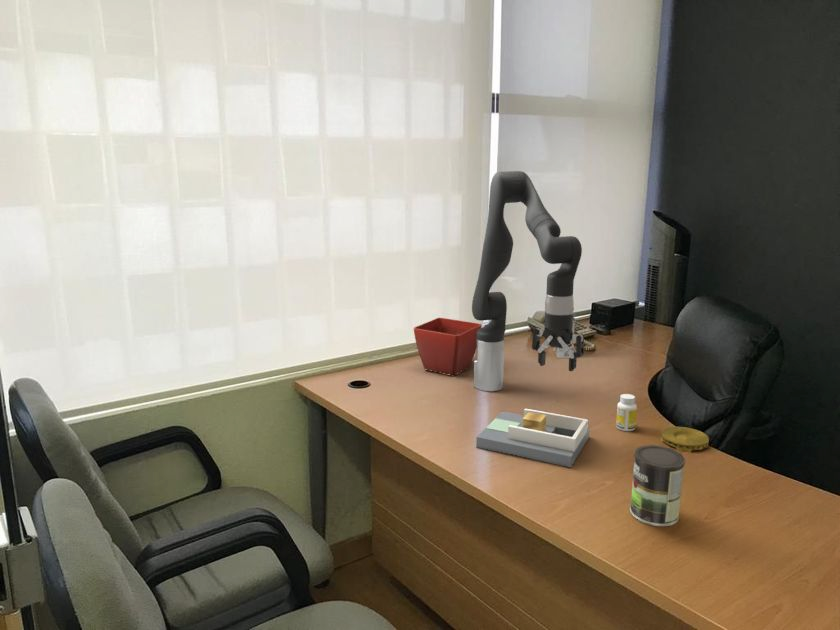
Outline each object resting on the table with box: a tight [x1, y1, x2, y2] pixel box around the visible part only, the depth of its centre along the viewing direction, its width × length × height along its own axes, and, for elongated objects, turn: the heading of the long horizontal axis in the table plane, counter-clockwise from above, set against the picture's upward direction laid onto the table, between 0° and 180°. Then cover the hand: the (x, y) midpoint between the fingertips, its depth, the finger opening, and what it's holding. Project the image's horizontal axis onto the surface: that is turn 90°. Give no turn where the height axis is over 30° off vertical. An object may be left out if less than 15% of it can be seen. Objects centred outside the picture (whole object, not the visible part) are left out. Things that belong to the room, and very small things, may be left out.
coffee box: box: [553, 316, 576, 359], centre depth 249 cm, size 9×6×16 cm
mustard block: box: [523, 412, 546, 432], centre depth 173 cm, size 5×5×4 cm
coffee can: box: [629, 444, 686, 528], centre depth 137 cm, size 10×10×14 cm
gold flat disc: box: [660, 426, 710, 453], centre depth 174 cm, size 12×12×2 cm
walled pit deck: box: [475, 408, 591, 468], centre depth 174 cm, size 26×20×6 cm
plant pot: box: [413, 317, 482, 376], centre depth 234 cm, size 19×19×17 cm
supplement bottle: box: [615, 393, 638, 432], centre depth 182 cm, size 5×5×10 cm
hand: (556, 367), depth 174 cm, fingers open, 8 cm apart
